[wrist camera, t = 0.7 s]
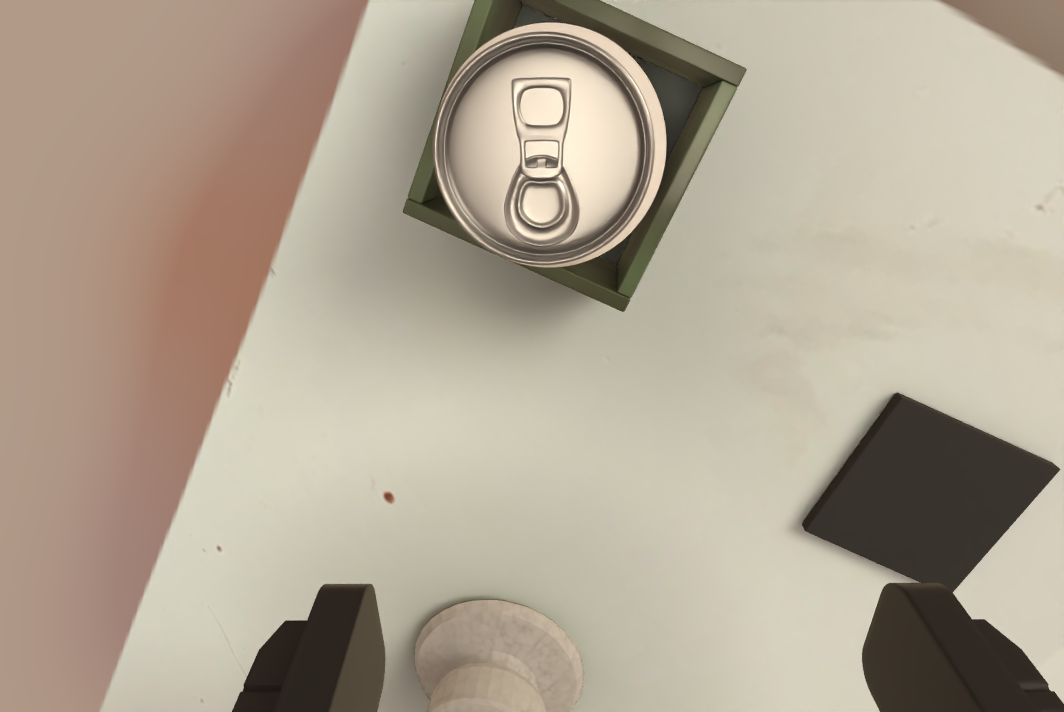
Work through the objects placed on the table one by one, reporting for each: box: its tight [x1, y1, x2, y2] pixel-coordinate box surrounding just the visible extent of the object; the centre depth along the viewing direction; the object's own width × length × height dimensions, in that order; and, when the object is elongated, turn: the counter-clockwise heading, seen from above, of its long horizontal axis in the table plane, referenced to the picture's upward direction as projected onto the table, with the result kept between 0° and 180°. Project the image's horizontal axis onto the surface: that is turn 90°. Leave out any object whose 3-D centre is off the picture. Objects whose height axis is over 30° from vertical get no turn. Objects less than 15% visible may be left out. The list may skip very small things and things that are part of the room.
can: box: [433, 23, 666, 267], centre depth 22 cm, size 6×6×12 cm
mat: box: [802, 393, 1060, 593], centre depth 30 cm, size 8×8×1 cm
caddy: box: [403, 0, 747, 312], centre depth 25 cm, size 9×9×5 cm
